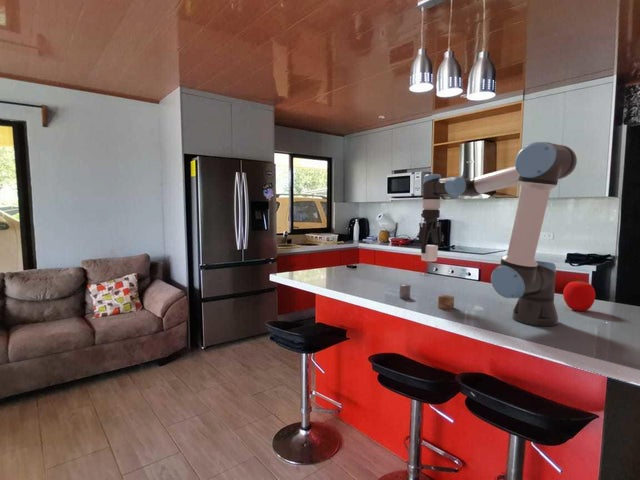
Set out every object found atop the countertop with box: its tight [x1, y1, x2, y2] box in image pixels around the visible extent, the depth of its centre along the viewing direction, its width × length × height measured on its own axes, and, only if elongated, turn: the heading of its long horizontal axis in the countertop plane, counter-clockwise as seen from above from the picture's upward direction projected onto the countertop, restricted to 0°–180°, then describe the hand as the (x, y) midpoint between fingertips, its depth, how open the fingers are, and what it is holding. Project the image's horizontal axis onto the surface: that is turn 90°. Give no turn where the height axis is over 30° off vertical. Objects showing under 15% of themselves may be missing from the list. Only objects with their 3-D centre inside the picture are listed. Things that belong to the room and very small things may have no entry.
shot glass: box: [426, 244, 439, 262], centre depth 169 cm, size 7×7×7 cm
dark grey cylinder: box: [398, 283, 411, 300], centre depth 176 cm, size 5×5×6 cm
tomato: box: [562, 280, 597, 312], centre depth 157 cm, size 11×11×13 cm
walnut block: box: [437, 294, 455, 311], centre depth 159 cm, size 5×5×5 cm
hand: (429, 259), depth 170 cm, fingers closed on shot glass, 7 cm apart
